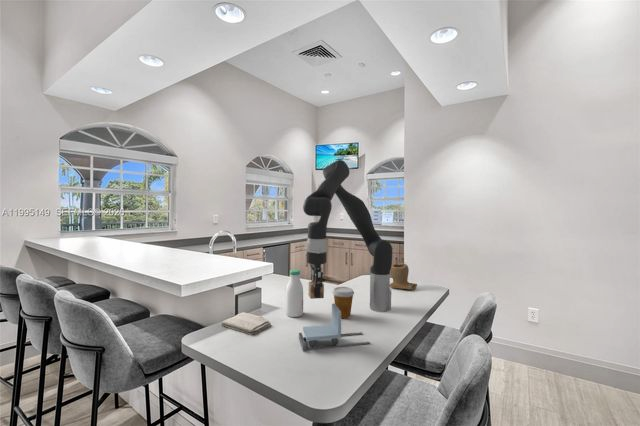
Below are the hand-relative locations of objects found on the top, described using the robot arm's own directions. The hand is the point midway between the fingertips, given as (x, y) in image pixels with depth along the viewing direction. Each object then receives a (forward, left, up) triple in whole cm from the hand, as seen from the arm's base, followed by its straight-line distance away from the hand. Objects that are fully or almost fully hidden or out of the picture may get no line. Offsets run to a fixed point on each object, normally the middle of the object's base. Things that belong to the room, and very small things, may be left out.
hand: (315, 294), depth 113 cm
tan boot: (-63, -52, -16) cm, 83 cm away
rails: (-6, +6, -16) cm, 18 cm away
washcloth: (+26, -15, -16) cm, 34 cm away
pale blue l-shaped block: (-1, +6, -16) cm, 17 cm away
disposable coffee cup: (-16, -17, -16) cm, 28 cm away
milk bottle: (+5, -23, -16) cm, 28 cm away
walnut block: (0, 0, -1) cm, 1 cm away
